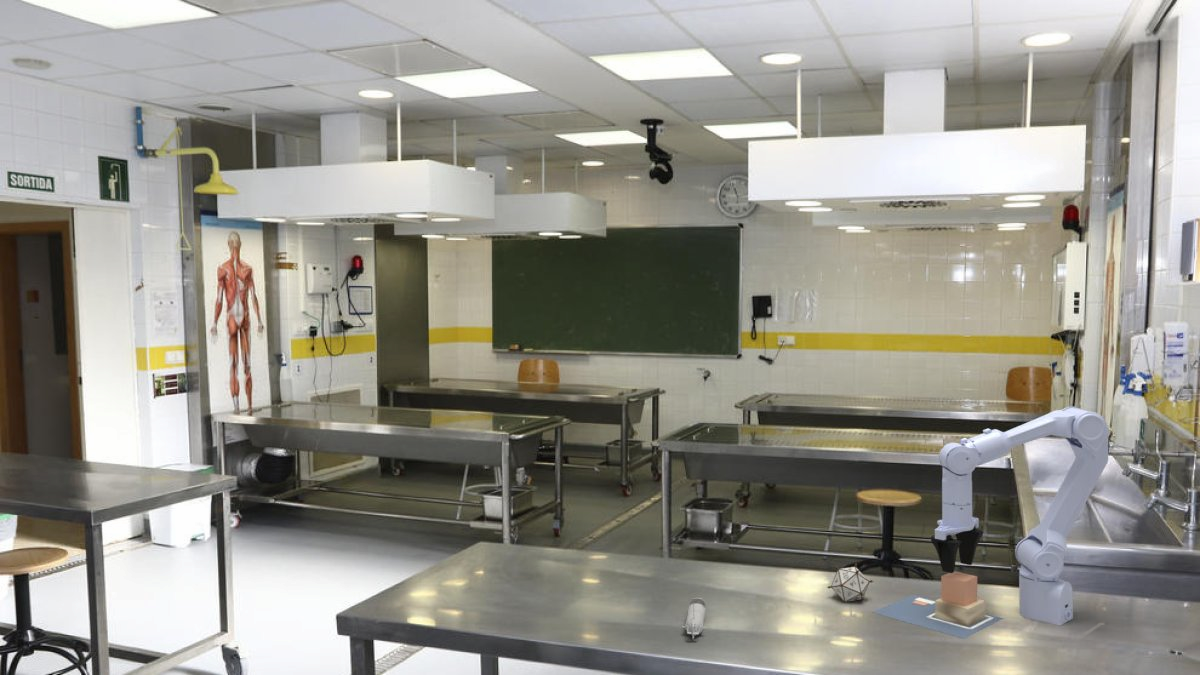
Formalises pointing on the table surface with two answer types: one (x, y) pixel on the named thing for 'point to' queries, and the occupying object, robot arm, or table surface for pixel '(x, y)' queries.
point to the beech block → (960, 612)
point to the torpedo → (695, 617)
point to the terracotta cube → (959, 588)
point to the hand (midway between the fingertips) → (957, 567)
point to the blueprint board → (931, 617)
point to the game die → (850, 584)
